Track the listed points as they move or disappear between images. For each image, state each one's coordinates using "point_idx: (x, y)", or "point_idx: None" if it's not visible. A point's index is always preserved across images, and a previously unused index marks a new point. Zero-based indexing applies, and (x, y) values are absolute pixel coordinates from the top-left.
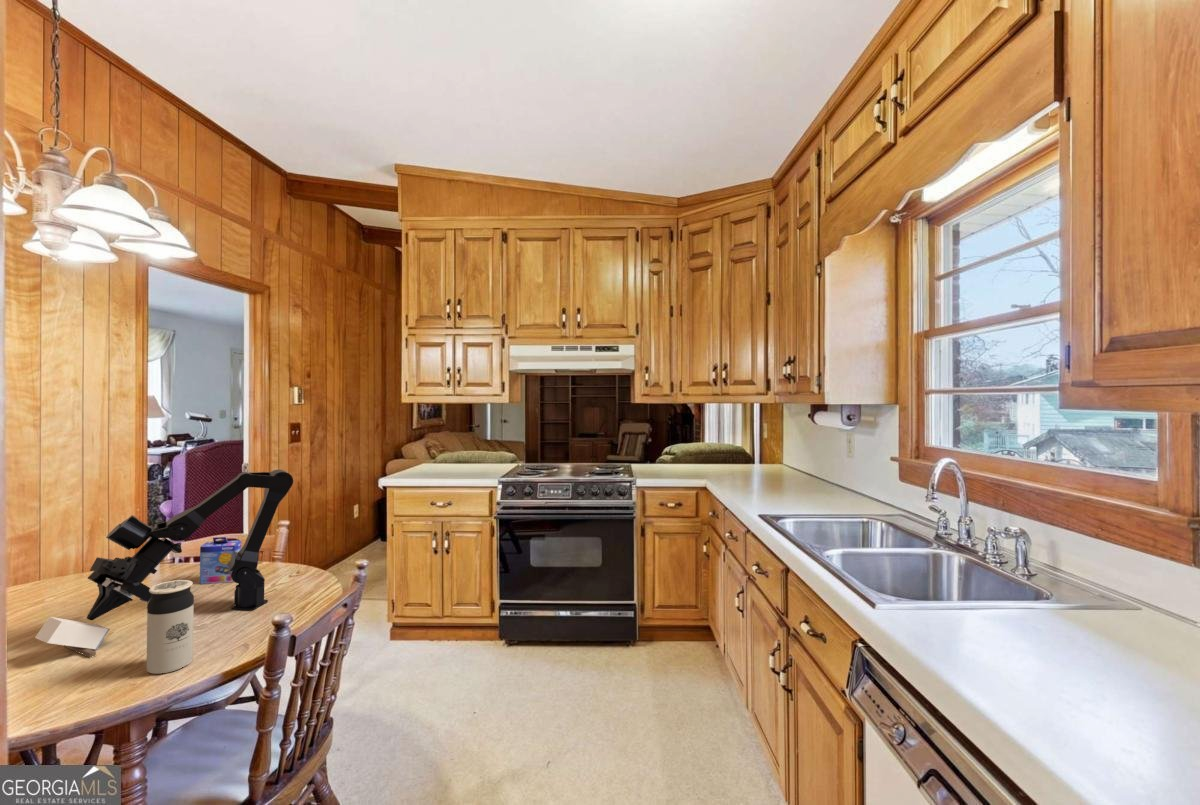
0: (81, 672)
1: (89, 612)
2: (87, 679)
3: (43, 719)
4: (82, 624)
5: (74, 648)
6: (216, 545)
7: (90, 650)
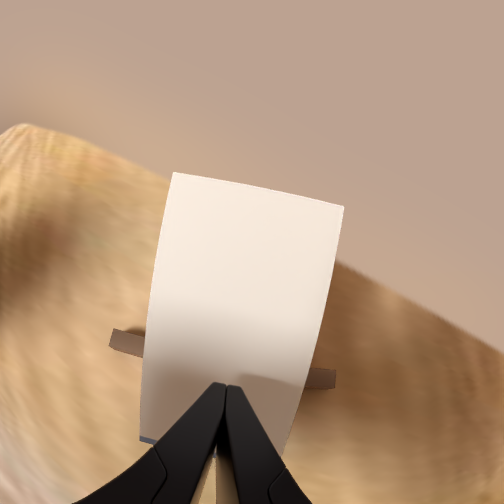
0: (61, 253)
1: (251, 409)
2: (23, 232)
3: (15, 139)
4: (167, 316)
5: None
6: None
7: (140, 350)
